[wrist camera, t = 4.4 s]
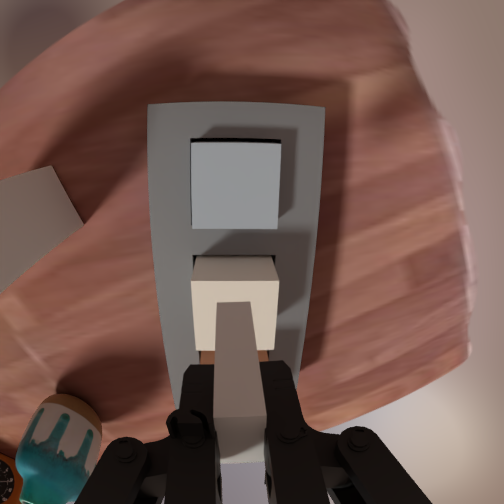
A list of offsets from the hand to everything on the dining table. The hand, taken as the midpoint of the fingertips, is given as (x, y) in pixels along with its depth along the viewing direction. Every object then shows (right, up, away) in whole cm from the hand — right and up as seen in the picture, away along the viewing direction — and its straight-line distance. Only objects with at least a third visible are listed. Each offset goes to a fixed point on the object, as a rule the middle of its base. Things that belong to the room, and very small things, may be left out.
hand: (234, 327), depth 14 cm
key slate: (-1, +10, +12) cm, 16 cm away
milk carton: (-20, +8, +13) cm, 25 cm away
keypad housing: (-1, +2, +17) cm, 17 cm away
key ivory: (-1, +1, +14) cm, 14 cm away
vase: (-25, -19, +23) cm, 39 cm away
